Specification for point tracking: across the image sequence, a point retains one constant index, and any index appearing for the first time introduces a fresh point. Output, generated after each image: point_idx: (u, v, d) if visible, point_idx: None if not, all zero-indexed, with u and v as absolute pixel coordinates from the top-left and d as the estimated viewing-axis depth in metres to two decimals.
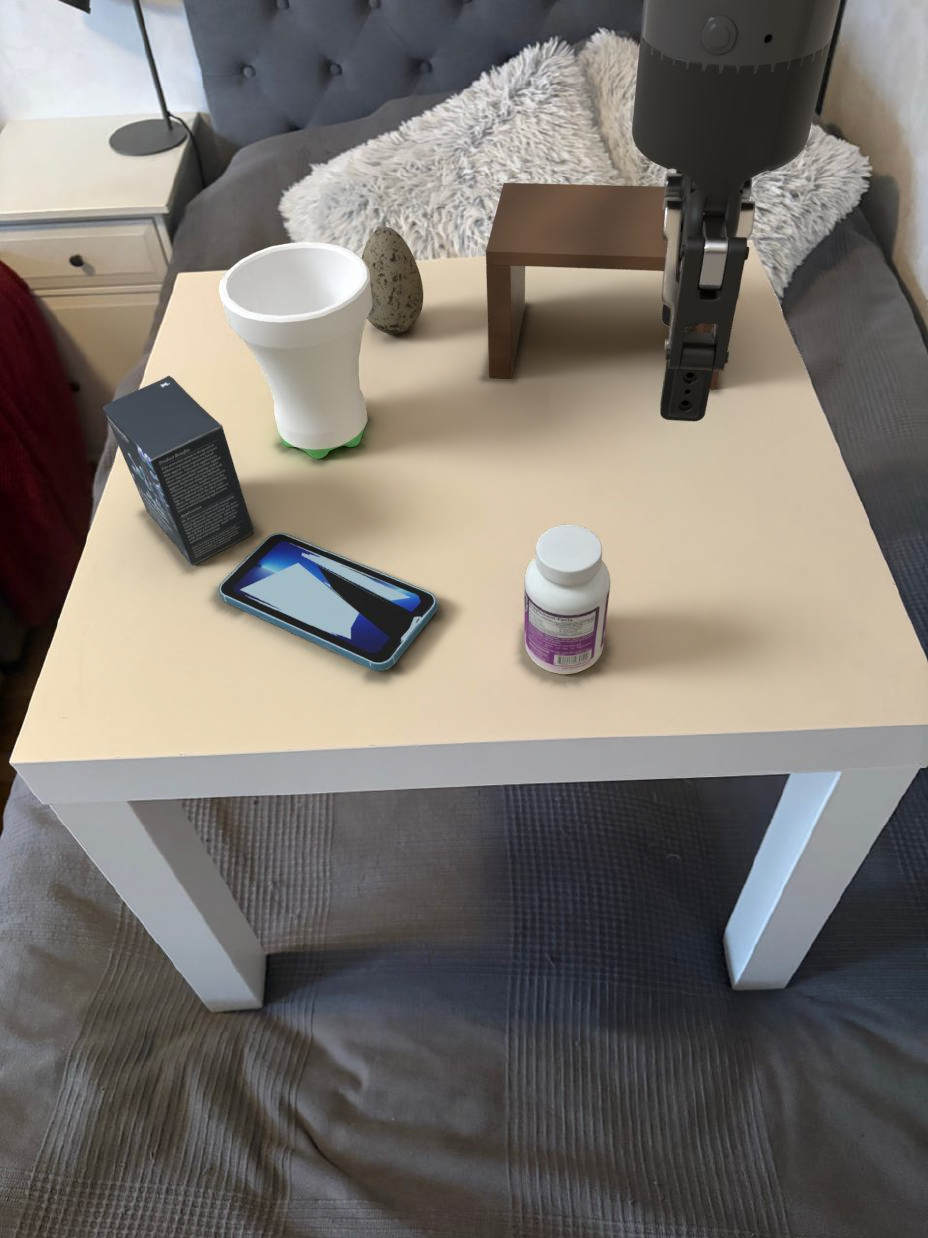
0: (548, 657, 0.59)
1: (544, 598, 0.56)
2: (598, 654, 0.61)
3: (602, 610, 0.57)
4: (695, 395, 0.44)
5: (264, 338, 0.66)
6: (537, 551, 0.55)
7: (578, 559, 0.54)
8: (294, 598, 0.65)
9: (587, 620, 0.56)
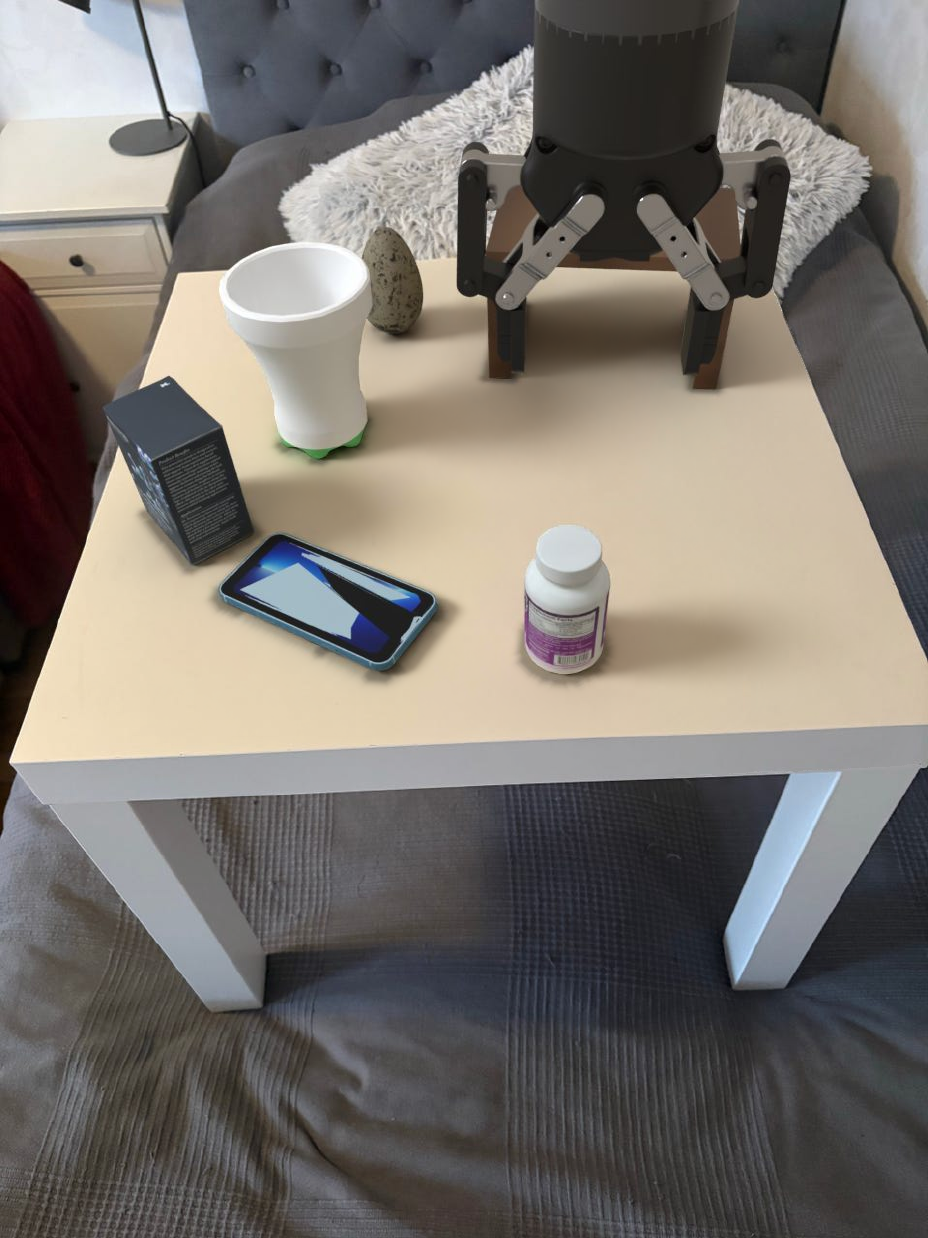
0: (548, 657, 0.59)
1: (544, 598, 0.56)
2: (598, 654, 0.61)
3: (602, 610, 0.57)
4: (497, 332, 0.45)
5: (265, 338, 0.66)
6: (537, 551, 0.55)
7: (578, 559, 0.54)
8: (294, 598, 0.65)
9: (587, 620, 0.56)
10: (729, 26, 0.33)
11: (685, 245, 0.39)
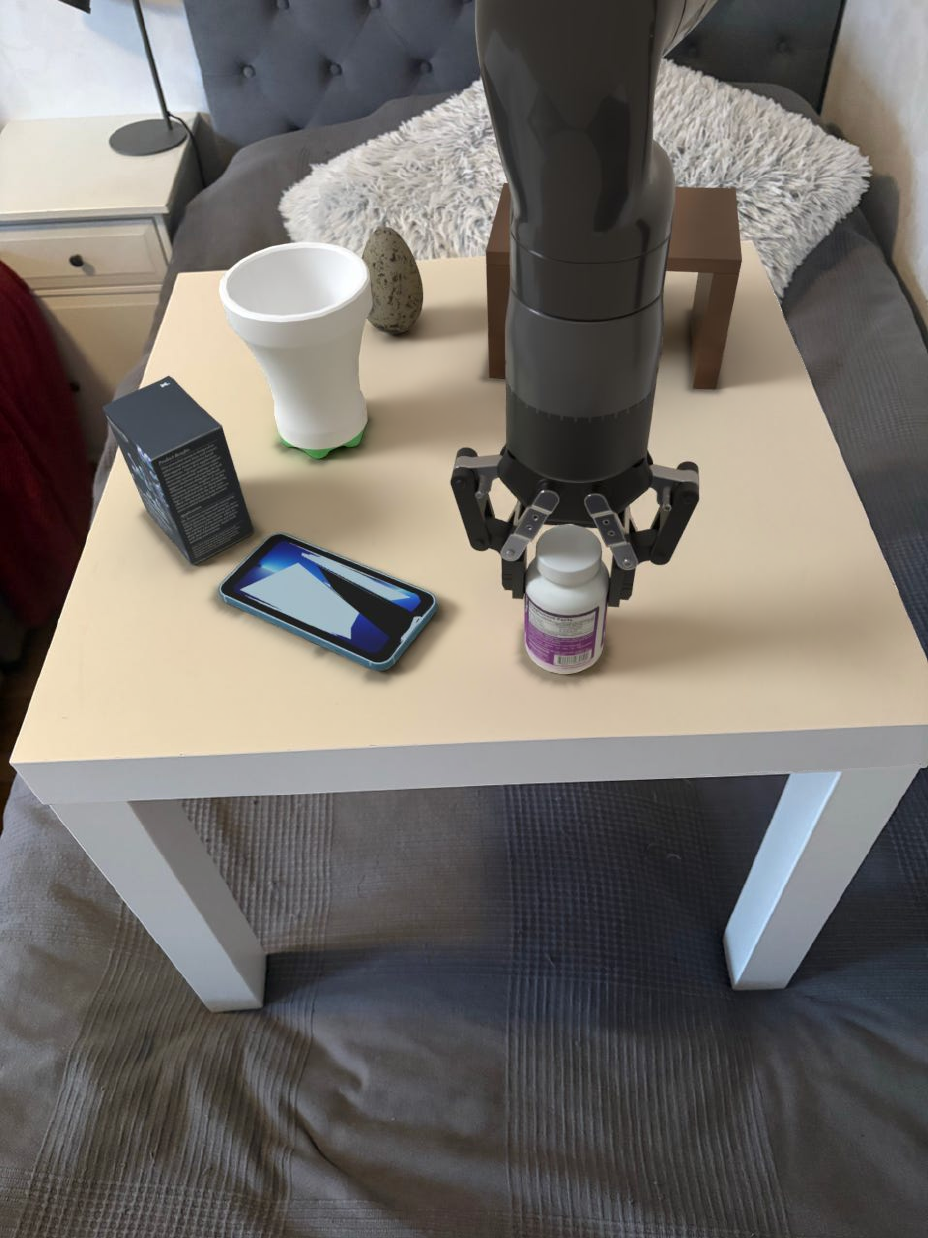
0: (548, 657, 0.59)
1: (543, 598, 0.56)
2: (598, 654, 0.61)
3: (602, 610, 0.57)
4: (502, 570, 0.57)
5: (265, 338, 0.66)
6: (537, 551, 0.55)
7: (578, 559, 0.54)
8: (294, 598, 0.65)
9: (587, 620, 0.56)
10: (647, 401, 0.44)
11: (613, 528, 0.51)
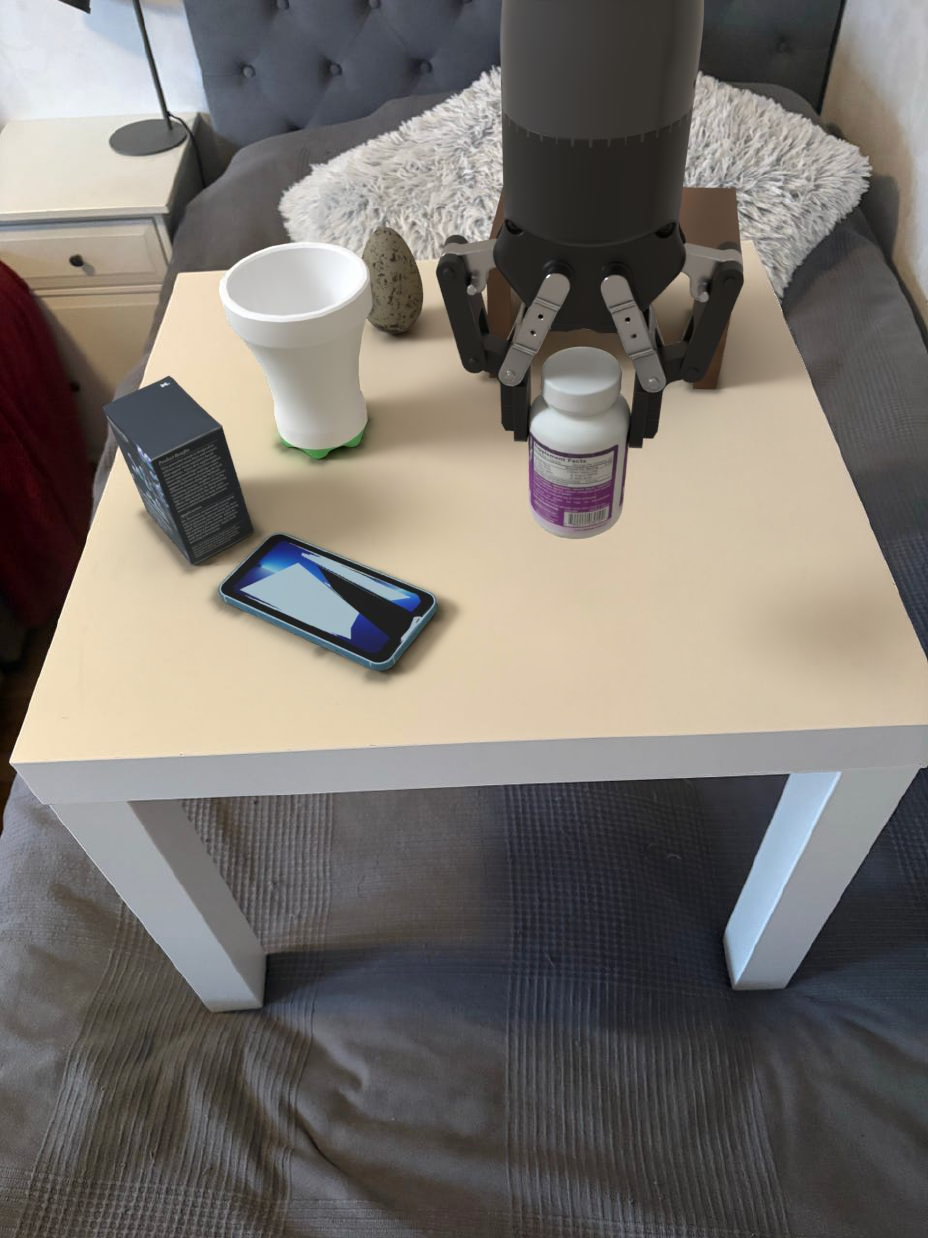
0: (557, 516, 0.50)
1: (551, 433, 0.46)
2: (616, 515, 0.51)
3: (621, 452, 0.48)
4: (501, 404, 0.47)
5: (265, 338, 0.66)
6: (543, 374, 0.45)
7: (592, 381, 0.45)
8: (294, 598, 0.65)
9: (604, 463, 0.47)
10: (681, 128, 0.35)
11: (637, 328, 0.41)
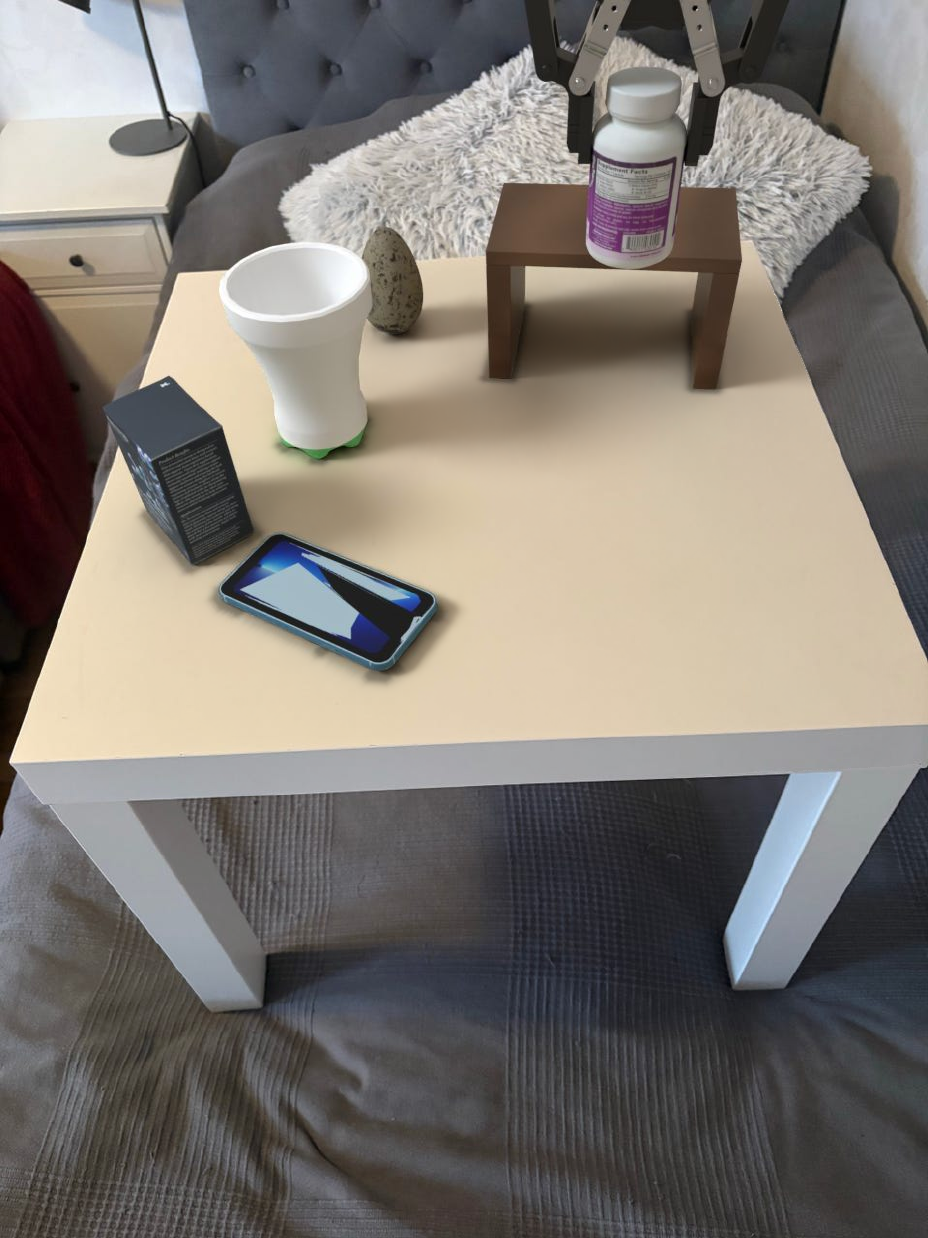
0: (616, 241, 0.54)
1: (616, 143, 0.50)
2: (669, 246, 0.55)
3: (678, 169, 0.51)
4: (567, 122, 0.51)
5: (265, 338, 0.66)
6: (609, 84, 0.49)
7: (656, 86, 0.48)
8: (294, 598, 0.65)
9: (663, 176, 0.51)
10: None
11: (703, 18, 0.45)
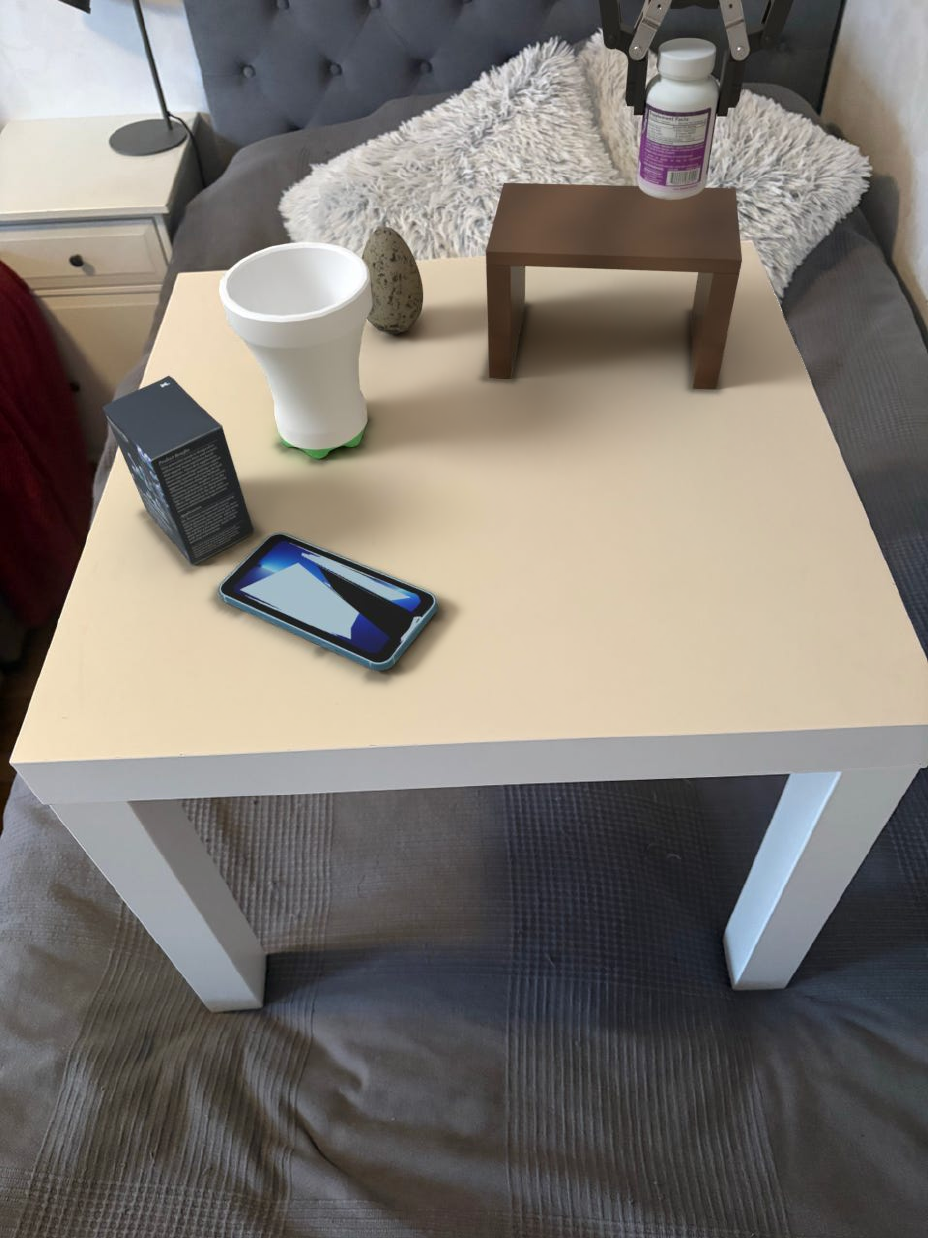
0: (662, 176, 0.68)
1: (664, 97, 0.64)
2: (703, 181, 0.69)
3: (712, 118, 0.66)
4: (626, 82, 0.66)
5: (265, 338, 0.66)
6: (660, 51, 0.64)
7: (696, 52, 0.63)
8: (294, 598, 0.65)
9: (700, 123, 0.65)
10: None
11: None
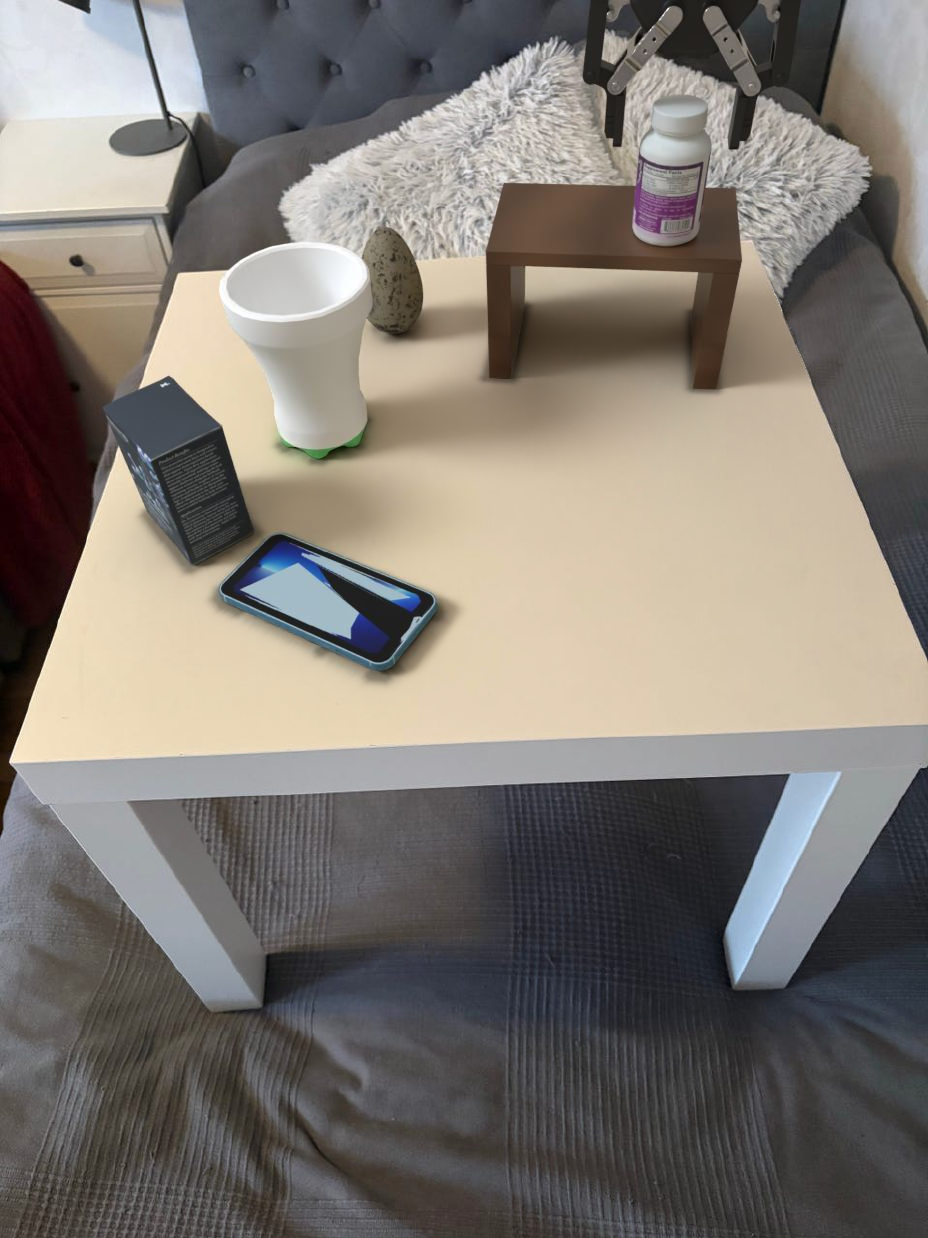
0: (656, 224, 0.71)
1: (658, 151, 0.67)
2: (696, 229, 0.72)
3: (704, 171, 0.69)
4: (605, 115, 0.68)
5: (265, 338, 0.66)
6: (654, 108, 0.67)
7: (689, 110, 0.66)
8: (294, 598, 0.65)
9: (693, 175, 0.68)
10: None
11: (733, 44, 0.62)
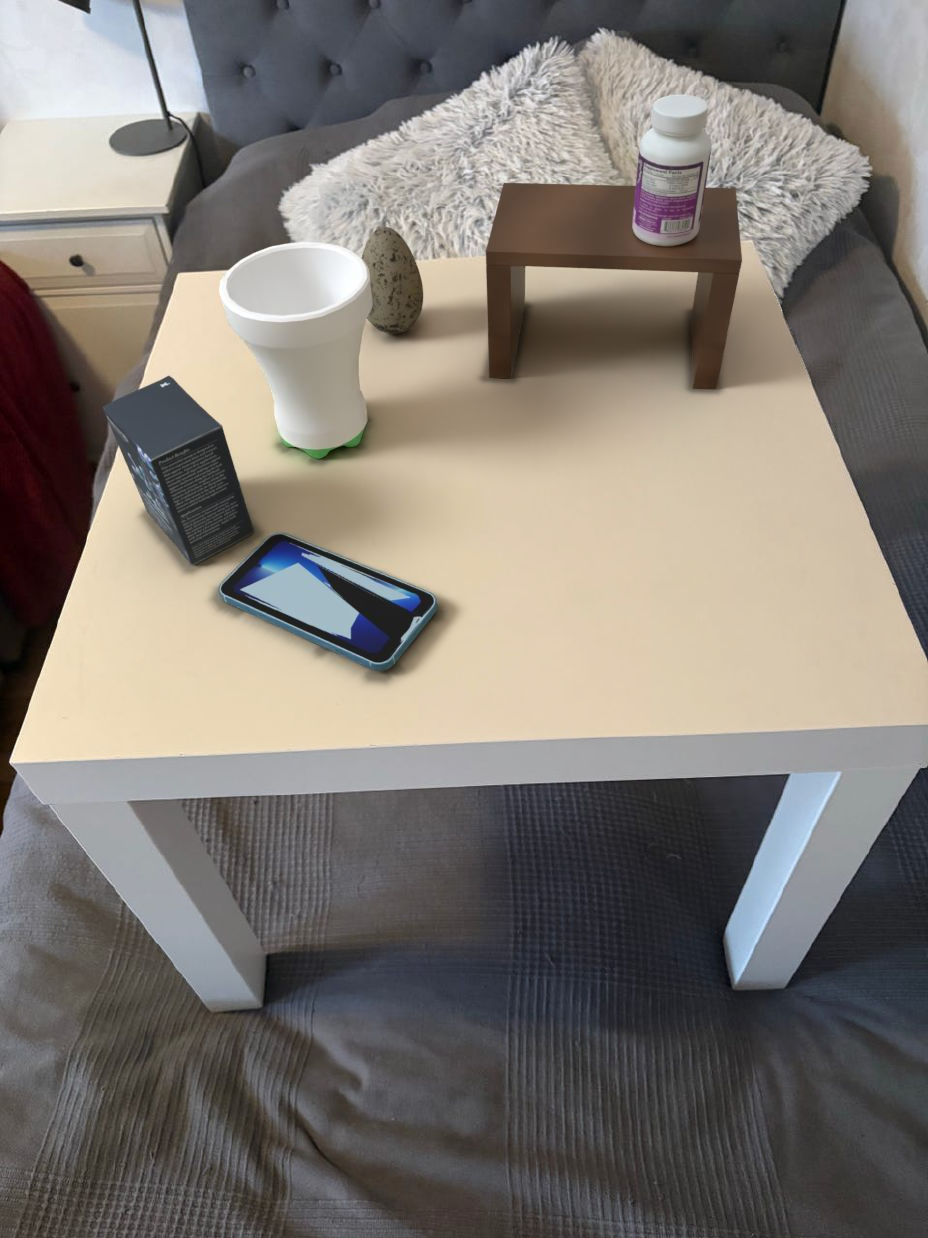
0: (656, 224, 0.71)
1: (658, 151, 0.67)
2: (696, 229, 0.72)
3: (704, 171, 0.69)
4: None
5: (265, 338, 0.66)
6: (654, 108, 0.67)
7: (689, 110, 0.66)
8: (294, 598, 0.65)
9: (693, 175, 0.68)
10: None
11: None
